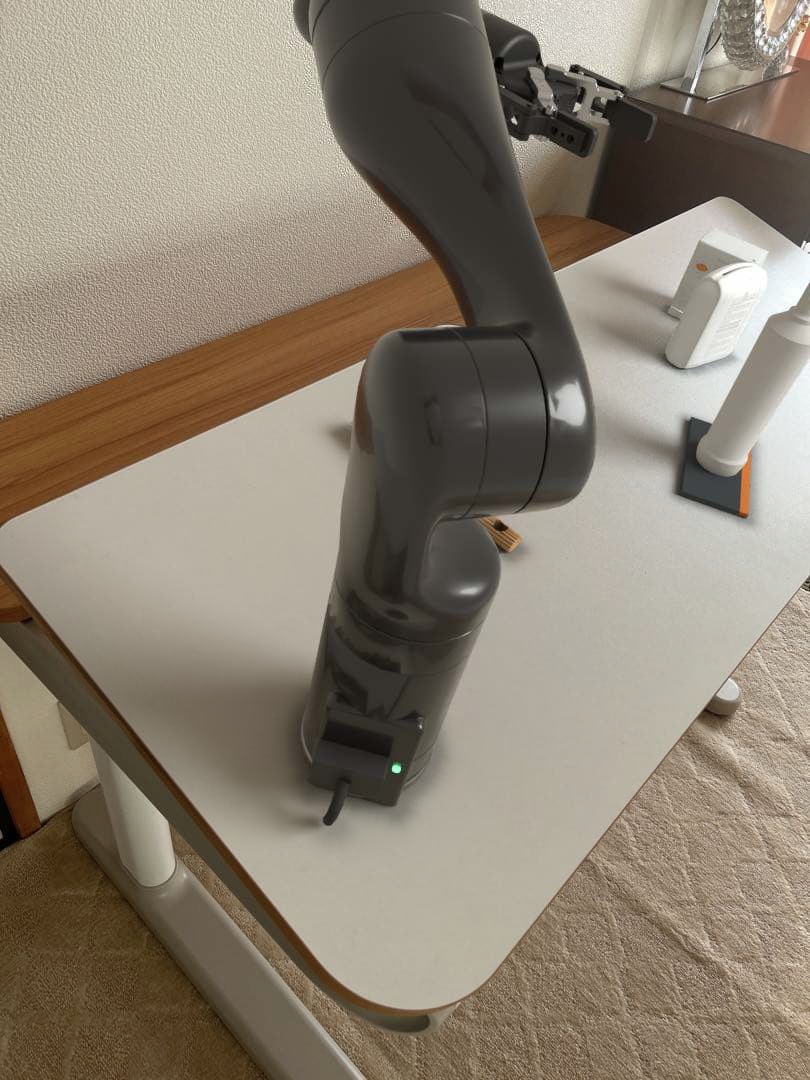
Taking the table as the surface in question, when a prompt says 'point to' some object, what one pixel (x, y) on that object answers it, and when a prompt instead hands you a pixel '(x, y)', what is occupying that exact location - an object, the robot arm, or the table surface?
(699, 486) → the mat
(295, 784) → the table surface
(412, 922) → the table surface
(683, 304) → the small box
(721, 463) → the bottle
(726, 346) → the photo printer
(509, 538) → the paintbrush
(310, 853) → the table surface
